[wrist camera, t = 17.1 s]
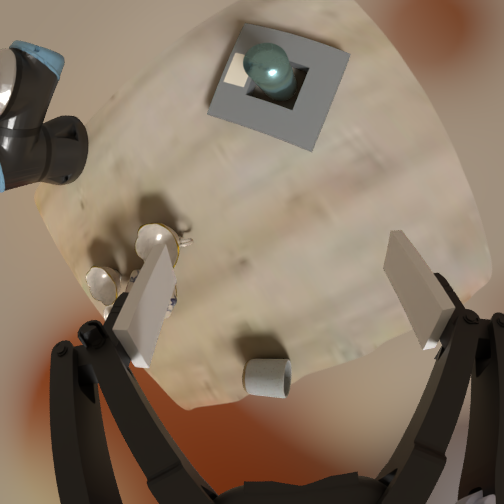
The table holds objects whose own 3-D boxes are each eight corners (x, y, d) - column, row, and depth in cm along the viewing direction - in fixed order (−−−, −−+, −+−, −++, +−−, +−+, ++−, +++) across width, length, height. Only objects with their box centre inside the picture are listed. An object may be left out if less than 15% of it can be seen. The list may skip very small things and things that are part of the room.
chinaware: (176, 198, 48) (111, 209, 33) (229, 278, 49) (181, 320, 34) (99, 272, 59) (44, 297, 43) (138, 334, 60) (90, 371, 44)
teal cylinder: (258, 95, 38) (236, 74, 27) (270, 66, 36) (252, 38, 25) (290, 105, 38) (278, 87, 27) (301, 77, 36) (294, 49, 25)
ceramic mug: (247, 350, 54) (237, 377, 47) (289, 350, 51) (283, 378, 44) (256, 387, 57) (248, 413, 50) (294, 388, 55) (289, 415, 48)
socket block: (214, 116, 41) (206, 114, 38) (249, 30, 34) (244, 22, 32) (311, 152, 39) (311, 151, 36) (348, 60, 33) (350, 53, 30)
